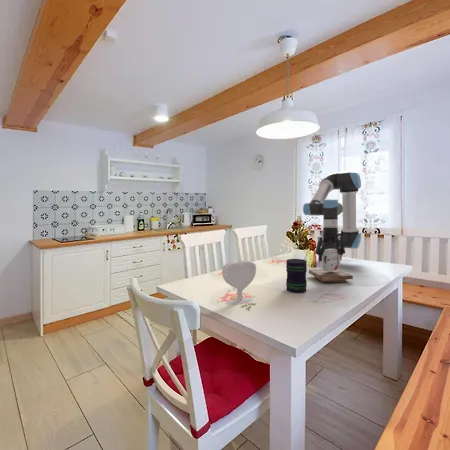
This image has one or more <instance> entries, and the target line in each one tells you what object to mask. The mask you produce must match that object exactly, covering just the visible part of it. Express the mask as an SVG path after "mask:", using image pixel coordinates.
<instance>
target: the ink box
mask: <svg viewBox="0 0 450 450" xmlns="http://www.w3.org/2000/svg"><path fill="white" fill-rule="evenodd" d="M322 255H323V267H321V269H322V270H323V271H328V272H331V271H334V270H337V269H338V267H339V266H338V250H337V249H326V250H324V252H323V254H322ZM338 270H339V269H338Z"/></svg>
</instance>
